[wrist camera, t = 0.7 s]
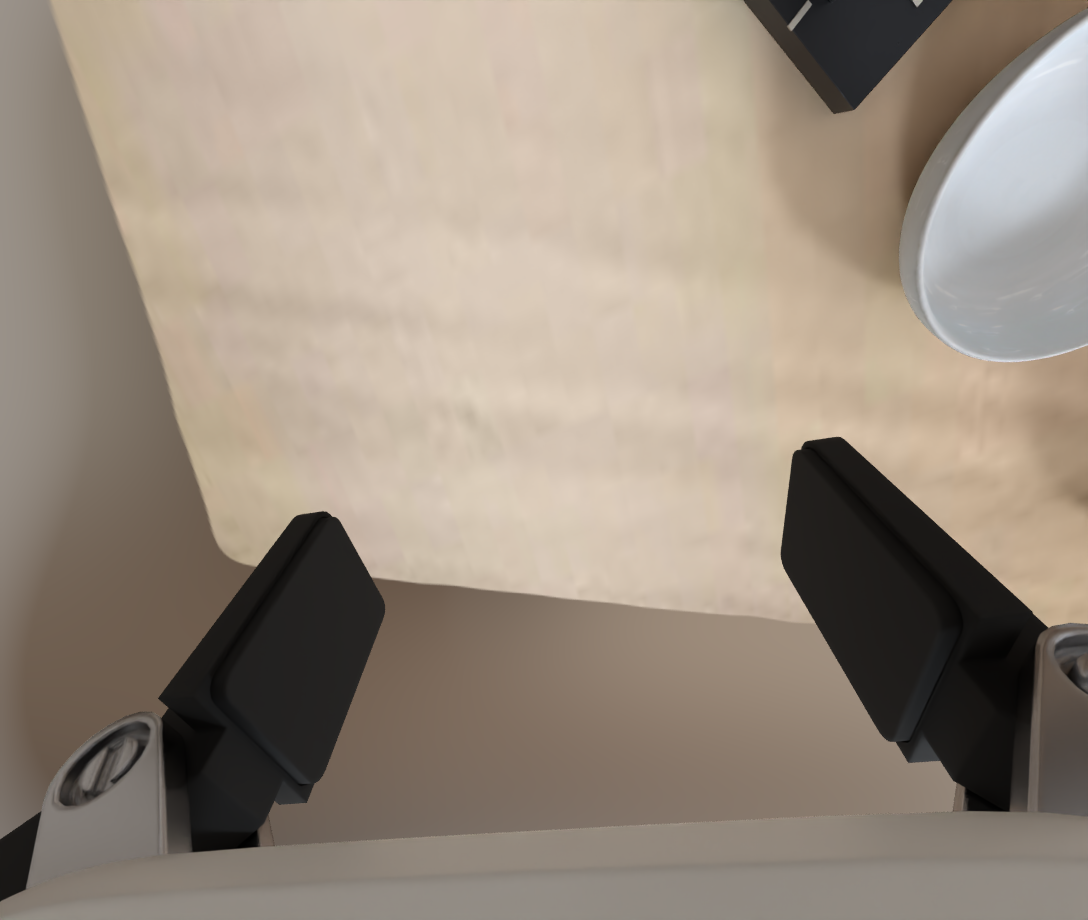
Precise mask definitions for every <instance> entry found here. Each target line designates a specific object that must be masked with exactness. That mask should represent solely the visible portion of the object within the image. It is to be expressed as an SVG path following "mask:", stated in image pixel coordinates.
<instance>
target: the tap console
mask: <svg viewBox="0 0 1088 920" xmlns="http://www.w3.org/2000/svg"><path fill="white" fill-rule="evenodd" d="M951 1H952V0H834V1H833V2H830V1H829V0H744V2H745V3H746V4H747V5H748V7H749V8H750V9H751V10H752V12H753V13H754V14H755V15H756V17H757V18H758V19H759V20H760V22H761V23H762V24H763V25H764V27H765V28H766V29H767V30H768V32H769V33H770V34H771V35H772V37H773V38H774V39H775V40H776V42H777V43H778V44H779V46H780V47H781V48H782V49H783V51H784V52H785V53H786V54H787V56H788V57H789V58H790V59H791V61H792V62H793V63H794V64H795V66H796V67H797V68H798V69H799V71H800V72H801V73H802V74H803V76H804V77H805V78H806V79H807V81H808V82H809V83H810V84H811V86H812V87H813V88H814V89H815V91H816V92H817V93H818V95H819V96H820V97H821V98H822V100H823V101H824V102H825V103H826V105H827V106H828V107H829V108H830V110H831V111H832V112H833V113H834V114H836V113H841V112H846V111H851V110H855V109H856V108H857V106H858V105H859V104H860V103H861V102H862V101H863V100H864V99H865V97H866V96H867V95H868V94H869V93H870V92H871V91H872V90H873V89H874V87H875V86H876V85H877V84H878V83H879V82H880V81H881V80H882V78H883V77H884V76H885V75H886V74H887V73H888V72H889V71H890V69H891V68H892V67H893V66H894V65H895V64H896V63H897V62H898V61H899V59H900V58H901V57H902V56H903V55H904V54H905V53H906V52H907V50H908V49H909V48H910V47H911V46H912V45H913V44H914V43H915V42H916V40H917V39H918V38H919V37H920V36H921V35H922V34H923V33H924V31H925V30H926V29H927V28H928V27H929V26H930V25H931V24H932V23H933V21H934V20H935V19H936V18H937V17H938V16H939V15H940V14H941V12H942V11H943V10H944V9H945V8H946V7H947V6H948V5H949V3H950V2H951Z"/></svg>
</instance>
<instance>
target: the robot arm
mask: <svg viewBox="0 0 1088 920" xmlns="http://www.w3.org/2000/svg"><path fill="white" fill-rule="evenodd" d="M781 560H782V564H783V567H784V569H785V571H786V573H787V575H788V576H789V578H790V580H791V582H792V583H793V585H794V587H795V588H796V590H797V592H798V594H799V595H800V597H801V599H802V601H803V602H804V604H805V606H806V607H807V609H808V611H809V613H810V614H811V616H812V618H813V619H814V621H815V623H816V625H817V626H818V628H819V630H820V631H821V633H822V634H823V637H824V638H825V640H826V641H827V643H828V645H829V647H830V649H831V650H832V652H833V654H834V655H835V657H836V659H837V661H838V662H839V664H840V666H841V667H842V669H843V671H844V672H845V674H846V676H847V678H848V679H849V681H850V683H851V685H852V686H853V688H854V690H855V691H856V693H857V695H858V697H859V698H860V700H861V702H862V703H863V705H864V707H865V709H866V710H867V712H868V714H869V715H870V717H871V719H872V721H873V722H874V724H875V726H876V727H877V729H878V730H879V732H880V734H881V735H882V736H883V737H884V738H885V739H886V740H888V741H890V742H896V743H897V745H898V746H899V748H900V750H901V751H902V753H903V755H904V756H905V758H906V760H907V761H908V763H913V762H928V761H941V763H942V764H943V766H944V767H945V769H946V770H947V772H948V773H949V775H950V776H951V778H952V779H953V781H955V782H956V783H957V784H956V791H955V798H954V806H953V812H932V813H931V812H929V813H900V814H865V815H835V816H813V817H795V818H794V817H793V818H774V819H753V820H735V821H734V820H733V821H713V822H693V823H674V824H653V825H634V826H616V827H597V828H581V829H580V828H579V829H560V830H542V831H526V832H506V833H488V834H473V835H472V834H471V835H452V836H435V837H418V838H403V839H402V838H401V839H384V840H368V841H351V842H335V843H318V844H303V845H285V846H275V845H274V840H273V835H272V830H271V826H270V821H269V816H268V814H269V812H270V809H271V807H272V805H273V803H274V801H276V802H277V803H278V804H279V805H281V804H295V803H307V801H308V798H309V796H310V793H311V790H312V788H313V785H314V783H316V782H318V781H319V780H320V779H321V777H322V776H323V774H324V772H325V770H326V767H327V765H328V762H329V759H330V757H331V754H332V752H333V749H334V746H335V743H336V741H337V738H338V736H339V733H340V730H341V728H342V725H343V723H344V720H345V717H346V715H347V712H348V710H349V707H350V704H351V702H352V699H353V696H354V694H355V691H356V689H357V686H358V683H359V681H360V678H361V675H362V673H363V670H364V668H365V665H366V662H367V660H368V657H369V654H370V652H371V649H372V646H373V644H374V641H375V639H376V636H377V633H378V631H379V628H380V626H381V623H382V620H383V617H384V614H385V604H384V600H383V598H382V596H381V595H380V593H379V591H378V589H377V588H376V586H375V584H374V582H373V580H372V578H371V576H370V575H369V573H368V571H367V569H366V567H365V566H364V564H363V562H362V560H361V558H360V557H359V555H358V553H357V551H356V549H355V548H354V546H353V544H352V542H351V540H350V539H349V537H348V535H347V533H346V531H345V530H344V528H343V526H342V524H341V522H340V521H339V520H338V519H337V518H336V517H332V516H331V515H330V514H329V513H327V512H324V511H322V512H315V513H308V514H302V515H298V516H296V517H295V518H294V519H293V520H292V521H291V522H290V523H289V525H288V526H287V527H286V529H285V530H284V531H283V533H282V534H281V535H280V537H279V538H278V539H277V541H276V542H275V543H274V545H273V546H272V547H271V549H270V550H269V551H268V553H267V554H266V555H265V557H264V558H263V559H262V561H261V562H260V563H259V565H258V566H257V567H256V569H255V570H254V572H253V573H252V574H251V575H250V577H249V578H248V579H247V581H246V582H245V583H244V585H243V586H242V588H241V589H240V590H239V591H238V593H237V594H236V595H235V597H234V598H233V599H232V601H231V602H230V603H229V605H228V606H227V607H226V609H225V610H224V611H223V613H222V614H221V615H220V617H219V618H218V619H217V621H216V622H215V623H214V625H213V626H212V627H211V629H210V630H209V631H208V633H207V634H206V635H205V637H204V638H203V639H202V641H201V642H200V643H199V645H198V646H197V647H196V649H195V650H194V651H193V653H192V654H191V655H190V657H189V658H188V659H187V661H186V662H185V663H184V664H183V666H182V667H181V669H180V670H179V671H178V673H177V674H176V675H175V677H174V678H173V679H172V680H171V682H170V683H169V684H168V686H167V687H166V688H165V690H164V691H163V693H162V694H161V695H160V696H159V698H158V699H159V700H160V701H161V702H163V703H164V704H165V705H166V706H167V707H168V708H169V709H168V710H167V711H166V713H165V714H164V715H163V717H162V718H161V717H159V716H158V715H156V714H155V713H153V712H138V713H135V714H132V715H129V716H125V717H123V718H121V719H119V720H117V721H115V722H114V723H112V724H110V725H108V726H107V727H105V728H104V729H102V730H101V731H100V732H98V733H97V734H95V735H94V736H92V737H91V738H90V739H89V740H88V741H87V742H85V743H84V744H83V745H82V746H81V747H80V748H79V749H78V750H77V751H75V752H74V754H73V755H72V756H71V757H70V758H69V759H68V760H67V761H66V763H65V764H64V765H63V766H62V767H61V768H60V770H59V771H58V773H57V774H56V776H55V777H54V779H53V780H52V782H51V784H50V785H49V788H48V791H47V794H46V796H45V798H44V802H43V807H42V811H41V812H40V813H38V814H36V815H35V816H34V817H32V818H31V819H29V820H28V821H26V822H25V823H23V824H22V825H21V826H19V827H18V828H16V829H15V830H13V831H12V832H10V833H9V834H7V835H6V836H5V837H3V838H2V839H0V920H1088V624H1077V623H1068V624H1062V625H1056V626H1051V627H1050V628H1048V627H1047V626H1046V625H1045V624H1044V623H1042V622H1041V621H1040V620H1039V619H1038V618H1037V617H1036V616H1035V615H1034V614H1033V613H1032V611H1031V610H1030V609H1029V608H1028V607H1027V606H1026V605H1025V604H1023V603H1022V602H1021V601H1020V600H1019V599H1018V598H1017V597H1016V596H1015V595H1014V594H1013V593H1011V592H1010V591H1009V590H1008V589H1007V588H1006V587H1005V586H1004V585H1003V584H1002V583H1000V582H999V581H998V580H997V579H996V578H995V577H994V576H993V575H992V574H991V573H990V572H988V571H987V570H986V569H985V568H984V567H983V566H982V565H981V564H980V563H979V562H978V561H976V560H975V559H974V558H973V557H972V556H971V555H970V554H969V553H968V552H967V551H966V550H964V549H963V548H962V547H961V546H960V545H959V544H958V543H957V542H956V541H955V540H954V539H952V538H951V537H950V536H949V535H948V534H947V533H946V532H945V531H944V530H943V529H942V528H940V527H939V526H938V525H937V524H936V523H935V522H934V521H933V520H932V519H931V518H930V517H928V516H927V515H926V514H925V513H924V512H923V511H922V510H921V509H920V508H919V507H918V506H916V505H915V504H914V503H913V502H912V501H911V500H910V499H909V498H908V497H907V496H906V495H904V494H903V493H902V492H901V491H900V490H899V489H898V488H897V487H896V486H895V485H893V484H892V483H891V482H890V481H889V480H888V479H887V478H886V477H885V476H884V475H883V474H881V473H880V472H879V471H878V470H877V469H876V468H875V467H874V466H873V465H872V464H871V463H869V462H868V461H867V460H866V459H865V458H864V457H863V456H862V455H861V454H860V453H859V452H857V451H856V450H855V449H854V448H853V447H852V446H851V445H850V444H849V443H848V442H847V441H845V440H844V439H843V438H841V437H832V438H826V439H819V440H812V441H807V442H805V443H804V444H803V446H802V449H801V450H797V451H795V452H794V454H793V457H792V465H791V473H790V481H789V489H788V497H787V505H786V513H785V521H784V530H783V538H782V546H781Z"/></svg>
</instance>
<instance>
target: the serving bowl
mask: <svg viewBox="0 0 1088 920" xmlns="http://www.w3.org/2000/svg"><path fill="white" fill-rule="evenodd" d="M899 269H900V277H901V282H902V286H903V289H904V292H905V295H906V298H907V300H908V302H909V304H910V306H911V308H912V310H913V311H914V313H915V314H916V316H917V317H918V319H919V320H920V321H921V322H922V323H923V325H924V326H925V327H926V328H927V329H928V330H929V331H930V332H931V333H932V334H934V335H935V336H936V337H937V338H938V339H940V340H941V341H942V342H943V343H945V344H946V345H948V346H949V347H951V348H952V349H954V350H956V351H958V352H960V353H962V354H965V355H967V356H970V357H973V358H977V359H981V360H987V361H995V362H1021V361H1030V360H1037V359H1043V358H1048V357H1052V356H1056V355H1060V354H1063V353H1067V352H1070V351H1073V350H1076V349H1079V348H1081V347H1084V346H1087V345H1088V8H1086V9H1084V10H1083V11H1081V12H1079V13H1078V14H1076V15H1074V16H1073V17H1071V18H1070V19H1068V20H1067V21H1065V22H1064V23H1062V24H1060V25H1059V26H1057V27H1056V28H1054V29H1053V30H1052V31H1050V32H1049V33H1047V34H1046V35H1045V36H1043V37H1042V38H1040V39H1039V40H1038V41H1036V42H1035V43H1034V44H1032V45H1031V46H1030V47H1029V48H1027V49H1026V50H1025V51H1024V52H1022V53H1021V54H1020V55H1019V56H1018V57H1016V58H1015V59H1014V60H1013V61H1012V62H1010V63H1009V64H1008V65H1007V66H1006V67H1005V68H1004V69H1003V70H1002V71H1001V72H999V73H998V74H997V75H996V76H995V77H994V78H993V79H992V80H991V81H990V82H989V83H988V84H987V85H986V86H985V87H984V88H983V89H982V90H981V91H980V92H979V93H978V94H977V95H976V97H975V98H974V99H973V100H972V101H971V102H970V103H969V105H968V106H967V107H966V108H965V109H964V110H963V111H962V113H961V114H960V115H959V116H958V118H957V119H956V120H955V122H954V123H953V124H952V125H951V127H950V128H949V129H948V131H947V132H946V134H945V135H944V136H943V138H942V139H941V141H940V142H939V144H938V145H937V147H936V148H935V150H934V152H933V153H932V155H931V157H930V158H929V160H928V162H927V164H926V165H925V167H924V169H923V171H922V173H921V175H920V177H919V179H918V181H917V183H916V186H915V188H914V190H913V193H912V195H911V198H910V200H909V203H908V207H907V210H906V213H905V217H904V221H903V225H902V230H901V236H900V244H899Z"/></svg>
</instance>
